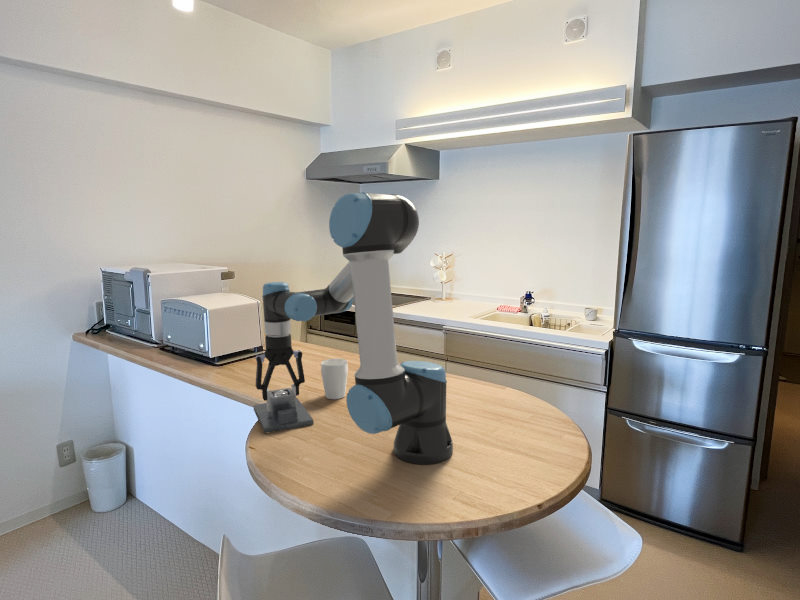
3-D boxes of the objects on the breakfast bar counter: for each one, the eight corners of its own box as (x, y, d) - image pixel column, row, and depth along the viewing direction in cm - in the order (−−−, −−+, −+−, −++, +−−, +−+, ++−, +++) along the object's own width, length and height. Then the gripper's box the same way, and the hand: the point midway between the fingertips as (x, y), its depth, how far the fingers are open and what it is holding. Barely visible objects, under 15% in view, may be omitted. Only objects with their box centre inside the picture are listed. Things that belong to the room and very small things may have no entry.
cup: (343, 401, 160) (342, 366, 158) (318, 400, 161) (316, 365, 159) (352, 392, 168) (351, 359, 166) (327, 390, 170) (326, 357, 168)
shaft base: (313, 424, 141) (312, 399, 140) (264, 433, 136) (263, 408, 134) (297, 402, 159) (296, 380, 158) (253, 409, 154) (252, 386, 152)
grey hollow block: (296, 413, 146) (295, 394, 145) (272, 418, 143) (271, 398, 142) (290, 406, 152) (290, 387, 151) (268, 410, 149) (267, 391, 148)
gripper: (307, 328, 151) (310, 398, 155) (241, 335, 143) (246, 409, 146) (314, 333, 144) (317, 406, 148) (244, 340, 136) (249, 418, 140)
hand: (281, 407), depth 147 cm, fingers closed on grey hollow block, 7 cm apart
